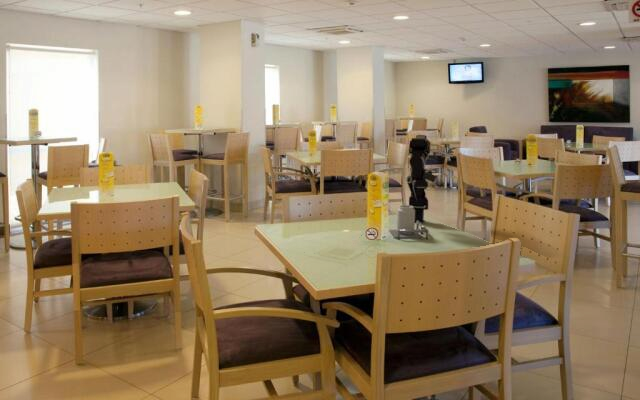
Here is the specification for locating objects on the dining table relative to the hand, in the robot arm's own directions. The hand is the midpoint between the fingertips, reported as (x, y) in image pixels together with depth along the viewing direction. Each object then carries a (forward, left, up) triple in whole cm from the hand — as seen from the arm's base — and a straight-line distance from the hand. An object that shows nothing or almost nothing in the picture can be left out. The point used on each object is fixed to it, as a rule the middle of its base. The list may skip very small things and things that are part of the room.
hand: (416, 200), depth 253 cm
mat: (+13, -7, -13) cm, 20 cm away
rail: (+12, -6, -13) cm, 19 cm away
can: (+13, -7, -13) cm, 19 cm away
